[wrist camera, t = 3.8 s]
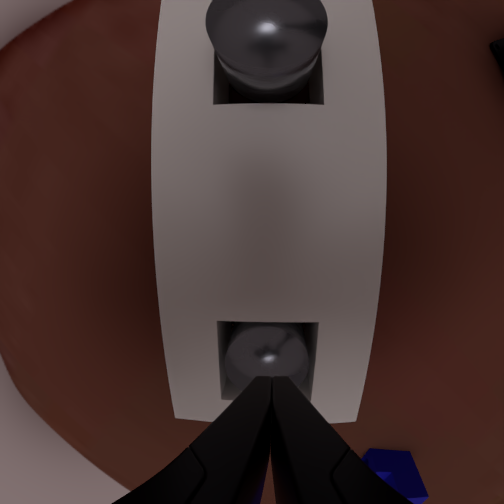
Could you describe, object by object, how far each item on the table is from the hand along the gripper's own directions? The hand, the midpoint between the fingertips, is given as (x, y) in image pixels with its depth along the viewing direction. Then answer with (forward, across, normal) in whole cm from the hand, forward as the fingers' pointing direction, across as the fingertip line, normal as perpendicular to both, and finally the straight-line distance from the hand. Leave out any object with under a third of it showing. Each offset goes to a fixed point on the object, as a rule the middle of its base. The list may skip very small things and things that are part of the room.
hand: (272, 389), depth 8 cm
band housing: (+11, 0, -4) cm, 12 cm away
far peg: (+11, 0, +3) cm, 12 cm away
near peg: (+8, 0, -11) cm, 13 cm away
